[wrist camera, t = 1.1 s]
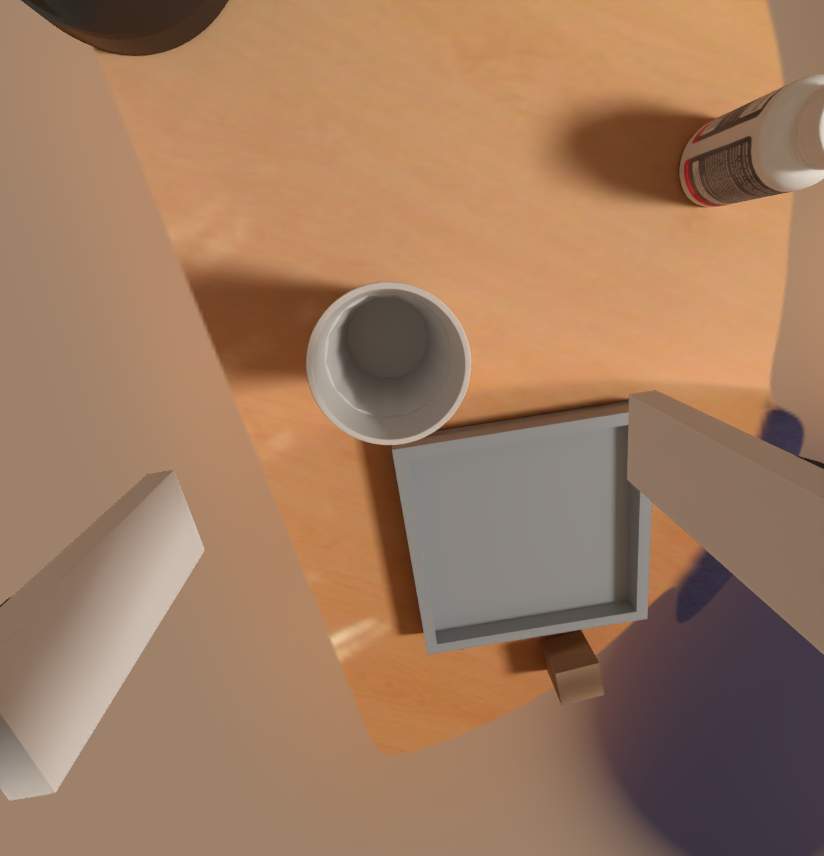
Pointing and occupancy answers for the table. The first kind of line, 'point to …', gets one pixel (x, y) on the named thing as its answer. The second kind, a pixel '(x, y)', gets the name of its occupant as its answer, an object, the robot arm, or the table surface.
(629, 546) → the tray
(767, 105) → the pill bottle
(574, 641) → the walnut block
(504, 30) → the table surface
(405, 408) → the cup
